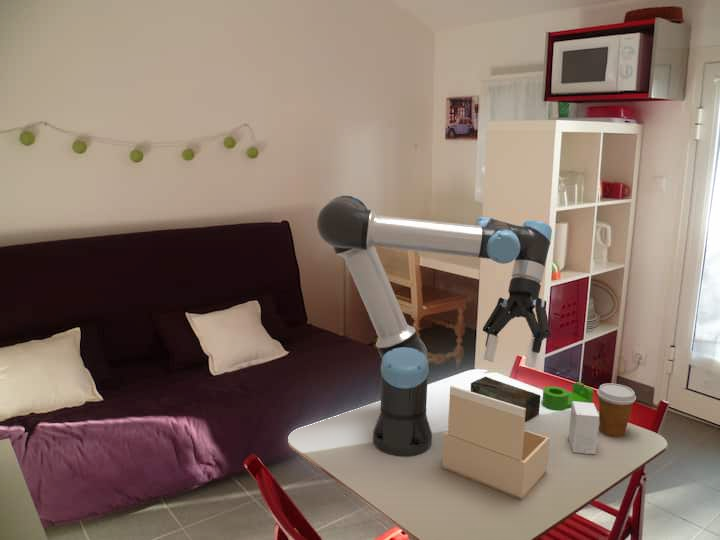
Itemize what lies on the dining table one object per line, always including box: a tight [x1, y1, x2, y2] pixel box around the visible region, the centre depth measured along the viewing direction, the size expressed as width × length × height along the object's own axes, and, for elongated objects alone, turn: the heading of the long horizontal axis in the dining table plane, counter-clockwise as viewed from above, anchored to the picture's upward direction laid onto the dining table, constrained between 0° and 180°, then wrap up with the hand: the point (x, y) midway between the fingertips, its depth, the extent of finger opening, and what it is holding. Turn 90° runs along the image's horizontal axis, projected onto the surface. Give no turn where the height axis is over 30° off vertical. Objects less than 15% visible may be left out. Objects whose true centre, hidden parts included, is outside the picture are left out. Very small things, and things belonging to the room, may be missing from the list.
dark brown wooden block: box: [470, 376, 541, 422], centre depth 175 cm, size 8×19×7 cm, turn 44°
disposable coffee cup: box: [596, 382, 637, 438], centre depth 161 cm, size 10×10×12 cm
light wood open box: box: [441, 429, 550, 501], centre depth 142 cm, size 20×14×9 cm
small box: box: [568, 401, 600, 455], centre depth 153 cm, size 8×6×10 cm
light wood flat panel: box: [447, 385, 526, 461], centre depth 134 cm, size 18×1×12 cm, turn 52°
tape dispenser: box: [541, 381, 594, 412], centre depth 178 cm, size 15×7×5 cm, turn 115°
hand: (508, 363), depth 148 cm, fingers open, 13 cm apart
